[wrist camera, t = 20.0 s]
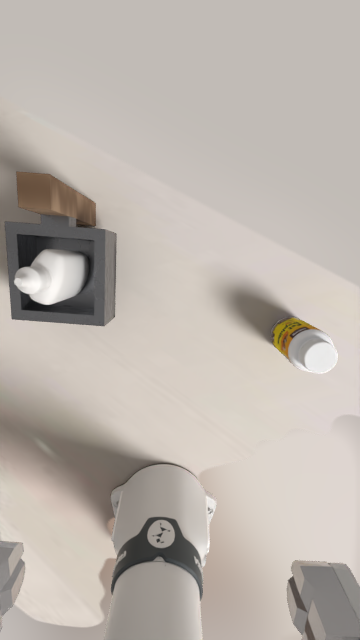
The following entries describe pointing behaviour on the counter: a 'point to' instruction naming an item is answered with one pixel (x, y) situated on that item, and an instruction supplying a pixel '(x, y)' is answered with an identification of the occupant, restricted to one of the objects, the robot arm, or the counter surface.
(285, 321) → the supplement bottle
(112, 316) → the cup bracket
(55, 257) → the eye dropper bottle
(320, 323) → the counter surface
